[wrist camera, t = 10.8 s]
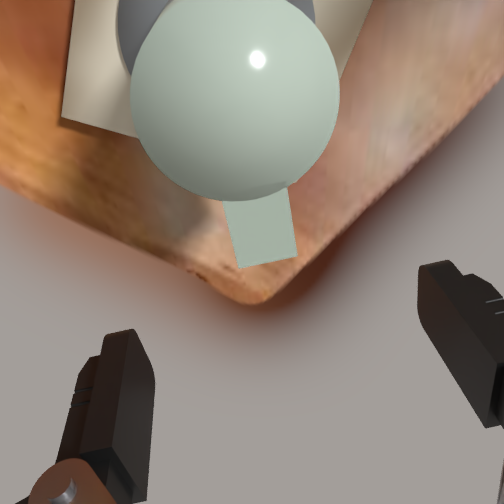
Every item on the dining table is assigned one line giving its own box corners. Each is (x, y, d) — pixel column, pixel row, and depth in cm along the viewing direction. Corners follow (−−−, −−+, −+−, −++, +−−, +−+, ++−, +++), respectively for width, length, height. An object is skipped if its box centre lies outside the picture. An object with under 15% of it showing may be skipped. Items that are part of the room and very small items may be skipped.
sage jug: (134, -9, 22) (96, 15, 13) (278, -41, 21) (330, -37, 13) (189, 179, 27) (186, 279, 19) (303, 155, 27) (350, 245, 19)
